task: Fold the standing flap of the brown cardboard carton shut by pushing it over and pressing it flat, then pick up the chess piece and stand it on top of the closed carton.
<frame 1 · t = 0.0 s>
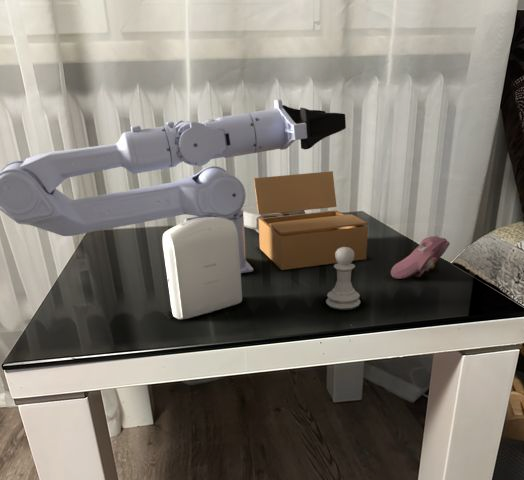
hand: (334, 119, 84), 22 cm above the table, tool horizontal, fingers open, 7 cm apart
pink shoe: (419, 274, 84), on the table
photo printer: (207, 310, 74), on the table
chess piece: (343, 304, 74), on the table
carton: (310, 253, 95), on the table
flap: (296, 192, 97), point 9 cm above the table, hinge at 110.0°
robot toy: (273, 229, 111), on the table
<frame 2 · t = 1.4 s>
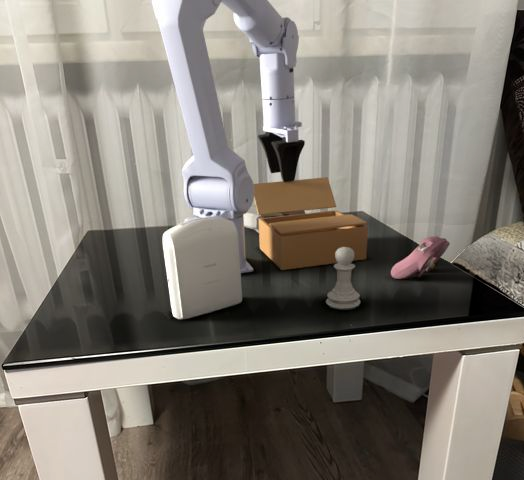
hand: (282, 176, 102), 11 cm above the table, tool pointing down, fingers open, 7 cm apart
flap: (293, 195, 99), point 8 cm above the table, hinge at 134.5°
everything else where it was.
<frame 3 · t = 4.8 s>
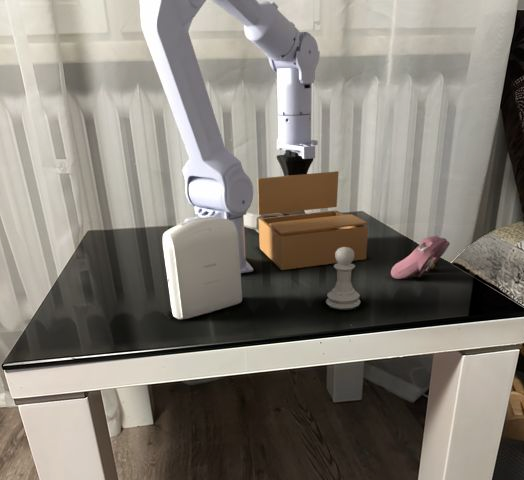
hand: (295, 195, 98), 8 cm above the table, tool pointing down, fingers closed
flap: (298, 193, 96), point 9 cm above the table, hinge at 86.0°, touching gripper
everything else where it was.
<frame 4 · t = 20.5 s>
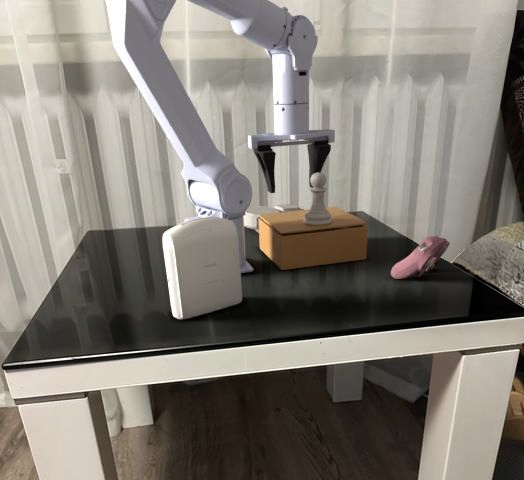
hand: (292, 189, 93), 10 cm above the table, tool pointing down, fingers open, 7 cm apart
chess piece: (317, 223, 89), point 6 cm above the table, touching carton
flap: (304, 215, 95), point 6 cm above the table, hinge at -0.6°
everything else where it was.
at the end: flap at -1° (first picture: +110°); chess piece inside the target area on the carton (0.6 cm from its centre), point 6.0 cm above the carton's base; chess piece tilted 0° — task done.
